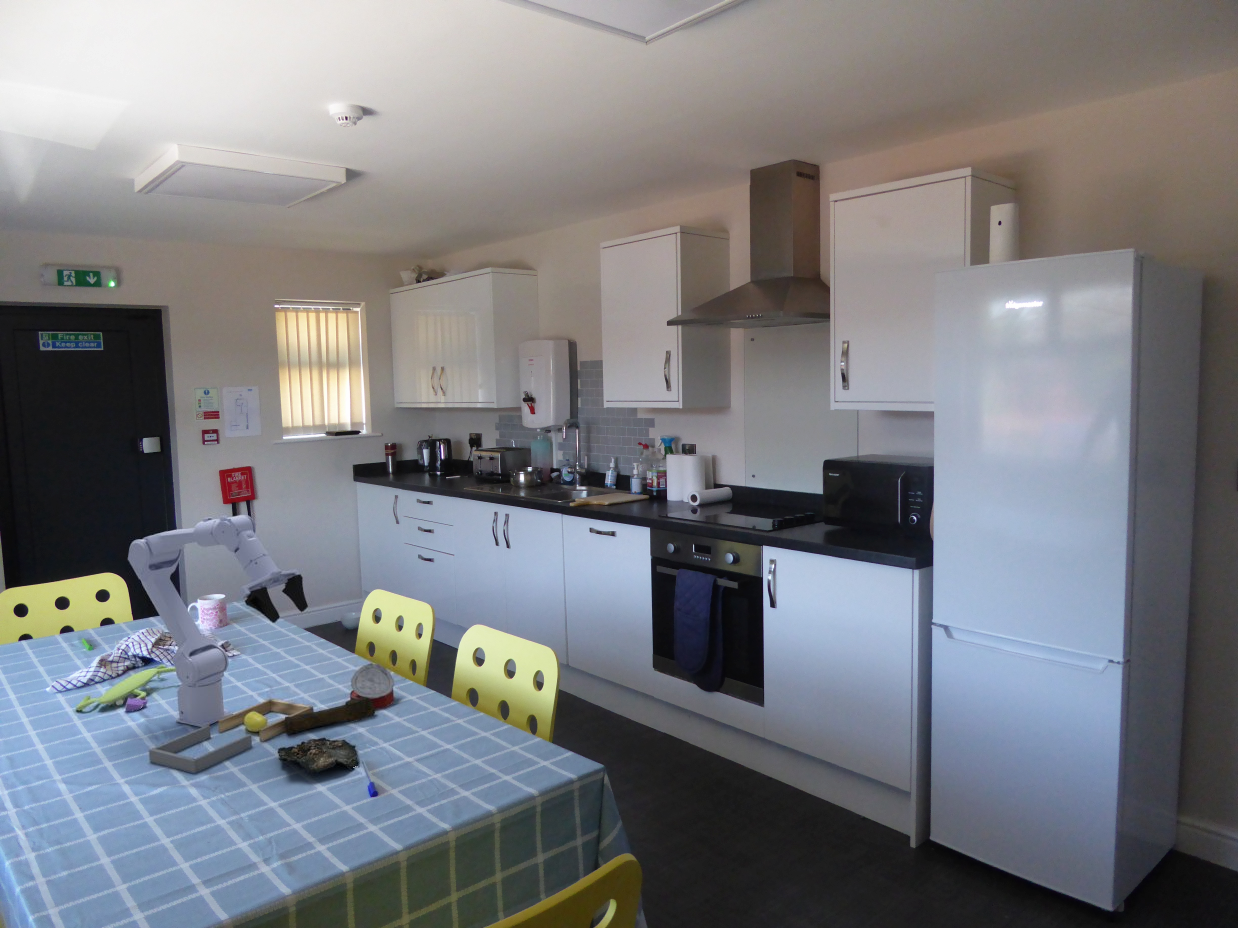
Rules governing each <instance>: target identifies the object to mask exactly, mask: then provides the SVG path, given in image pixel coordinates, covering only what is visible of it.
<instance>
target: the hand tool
mask: <svg viewBox="0 0 1238 928" xmlns="http://www.w3.org/2000/svg"><path fill="white" fill-rule="evenodd" d="M374 714H376V710H375V706H374V704H373V702H372V701H371V699H369V698H367V697H362V698H359V699H351V700H350V699H349V700H347V701H345V703H344V704H342V705H339V706H335V707H331V708H327V709H326V708H324V709H322V710H317V711H314V712H310V713H306V714H301V715H297V716H293V717H288V716H285V717H284V718H285V728H286V731H285V732H286V734H287V736H290V735H291V734H298V733H299V732H300V731H301V732H302V731H305V730H309V729H313V728H317V727H323V726H326V725H331V724H334V723H338V722H346V721H347V722H350V723H352V722H355V721H356V720H357V721H360V720H362V718H363V719H366V718H368V717H370V716H373V715H374Z"/></svg>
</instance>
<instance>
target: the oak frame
mask: <svg viewBox="0 0 1238 928" xmlns="http://www.w3.org/2000/svg"><path fill="white" fill-rule="evenodd" d="M253 711H254V712H257V713H259V714H261V715H262V716H264V714H267V713H269V712H276V713H280V714H285V715H288V716H287V717H293V716H297V715H301V714H306V713H310V712H315V711H314V706H312V705H306V704H300V703H297V702H290V701H284V700H279V699H274V698H269V699H267V700H265V701H261V702H260V703H257V704H255V705H252V706H250V707H248V708H245V709H243V710H241V711H238V712H236V713H233V715H231V716H228V717H226V718H224V719H221V720H219V721H217V725H218V732H219V733H223V732H225V731H228V730H230V729H232V728H236V727H238V726H239V725H242V724H244V719H245V716H246V715H247V714H248V713H250V712H253ZM284 732H286V728H285V717H284V718H281V719H280V720H277V721H276V722H273V723H270V724H269V725H268V724H267V726H266V727H264V728H262V729H259V733H258V734H259V735H258V736H259V742H265V741H266V740H269V739H272V738H274V737H276V736H278V735H279V734H281V733H284Z"/></svg>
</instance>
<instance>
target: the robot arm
mask: <svg viewBox="0 0 1238 928" xmlns="http://www.w3.org/2000/svg"><path fill="white" fill-rule="evenodd" d="M256 529H257V526H256V523H255V521H254V520H253V518H252V517H251V516H250V515H247V514H239V515H235V516H230V517H228V515H222V516H220V517H219V518H215V519H213V517H212V516H211V517H206V518H204V517H203V518H202V521H199V522H198V523H196V525H195V526H194V527H192V528H182V529H174V530H173V529H172V530H169V531H163V532H160V533H155V534H153V535H152V534H151V535H148V536H145V537H143V538H142V539H135V540H133V541H132V542H131V544H130V546H129V550H128V555H127V556H128V557H127V561H128V562H129V565H130V566H131V567H132V569H133V571H134V572H135V574H136V576H137V578H138V580H140V581H141V582H140V583H141V584H142V587H143V589H144V590H145V591H146V594H147V595H148V597H149V599H150V601H151V602H152V604H153V606H154V608H155V610H156V611H157V613H158V615H159V616H160V619H161V620H162V622H163V624H164V626H165V627H166V629H167V631H168V632H169V634H170V637H171V638H172V640H173V641H174V643H175V645H176V646H177V649H176V651H175V653H174V654H173V656H172V660H171V661H172V663H173V665H174V666H173V667H175V669H176V672H175V675H176V677H177V679H178V680H179V681H180V685H179V687H178V689H177V694H176V695H177V696H176V697H177V706H178V709H177V710H178V718H175V722H177V723H183V724H185V725H191V726H195V727H199V728H202V727H204V726H207V725H208V726H210V725H212V724H215V723H218V721H219V720H221V719H224V718H226V717H228V716H231V715H233V714H234V713H233V712H231V711H226V710H225V706H224V693H223V679H222V678H224V677H225V672H226V671H227V670H228V667H229V661H230V660H229V656H228V653H227V652H226V650H224V649H223V648H222V647H221V645H219V644H218V642H217V641H216V639H214V638H211V637H207V636H205V635H202V633H201V631H200V629H199V627H198V626H197V624H196V622H195V620H194V618H193V617H192V615H191V614H190V613H191V612H189V610H188V608H187V607H186V606H187V605H185V603H184V601H183V600H182V598H181V596H180V594H179V592H178V591H177V589H176V587H175V585H174V583H173V581H171V575H172V574H173V573H174V572H175V571H176V569H177V567H178V564H179V562H180V559H181V557H182V555H183V550H184V549H186V544H192V543H193V544H194V543H196V544H197V545H198V546H201V547H204V548H207V547H214V546H224V547H225V548H227V550H228V551H229V552H231V553H233V555H234V557H235V558H236V559H237V561H238V563H239V565H240V566H241V568H243V570H244V572H245V573H246V575H247V577H248V578H249V580H250V581H251V582H250V583H248V584H246V585H243V586H241V587H240V589H238V591H237V593H238V595H239V596H240V598H241V600H244V599H245V601H244V603H245V605H246V606H248V607H250V608H252V609H254V610H256V611H258V612H259V613H260V614H262V615H263V616H264V617H265V618H267V619H268V620H269V621H270V623H272V624H274V623H276V622H278V620H279V619H280V618H281V616H280V614H279V611H278V610H277V608H276V607H275V605H274V603H273V601H272V599H271V596H270V594H269V590H270V589H272V588H276V587H278V586H281V585H284V588H283V589H282V590H281V592H282V593H283V594H285V595H286V596H287V597H288V598H289V599H290V600H291V601H292V602H293V604H294V605H295V607H296V608H297V609H298V611H299V612H301V613H302V612H304V611H306V610H307V608H308V607H309V605H308V602H307V599H306V596H305V593H304V585H303V582H304V579H303V578H304V577H303V576H302V574H301V573H300V572H299V570H298V568H294V569H290V570H282V569H281V568H278V567H277V565H276V564H275V561H274V560H273V559H272V557H271V556H270V554H269V553H268V552H267V550H266V548H265V547H264V545H263V544H262V542H261V541H260V539H259V538H258V536H257V535H256V532H257V531H256Z"/></svg>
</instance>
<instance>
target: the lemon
mask: <svg viewBox="0 0 1238 928" xmlns="http://www.w3.org/2000/svg"><path fill="white" fill-rule="evenodd" d="M243 724H244V726H245V728H246V729H247V731H249V732H251V733H252V732H253V733H258V732H259V729H262V728H264V727H266V726H268V719H267V718H266V717H265V716H264V715H261V714H259V713H257V712H254V711H253V712H250V713H248V714H247V715H246V716H245V719H244V723H243Z"/></svg>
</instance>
